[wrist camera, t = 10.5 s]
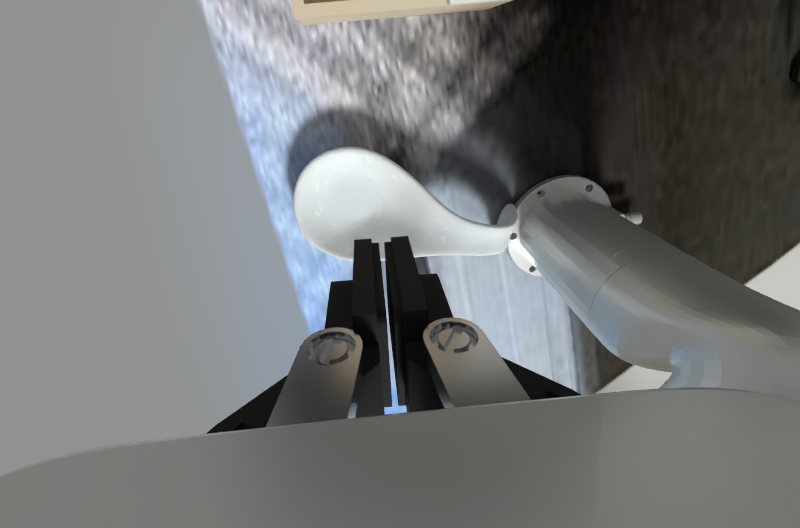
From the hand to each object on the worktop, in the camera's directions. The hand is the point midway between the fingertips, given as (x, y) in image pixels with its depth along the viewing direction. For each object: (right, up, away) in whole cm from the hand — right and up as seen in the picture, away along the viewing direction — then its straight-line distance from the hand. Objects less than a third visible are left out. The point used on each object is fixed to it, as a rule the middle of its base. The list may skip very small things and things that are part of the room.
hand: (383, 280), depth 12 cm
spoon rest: (+1, +7, +29) cm, 30 cm away
